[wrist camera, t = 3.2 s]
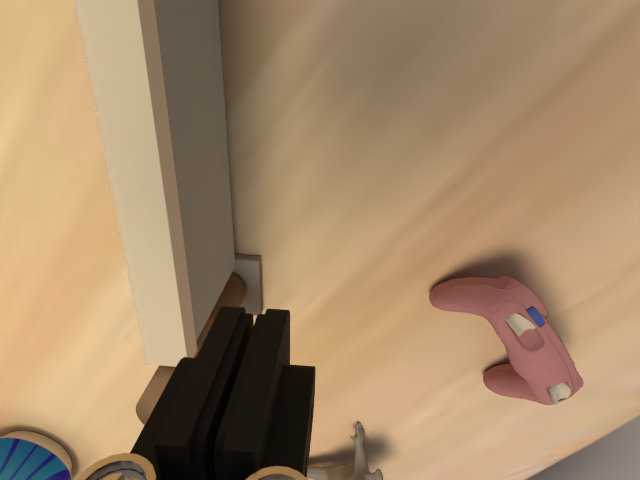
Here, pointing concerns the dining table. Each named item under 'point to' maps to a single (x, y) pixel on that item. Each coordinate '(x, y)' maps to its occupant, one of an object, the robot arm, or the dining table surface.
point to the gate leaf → (164, 159)
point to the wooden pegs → (237, 293)
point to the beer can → (33, 458)
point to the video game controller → (515, 337)
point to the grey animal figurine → (342, 475)
